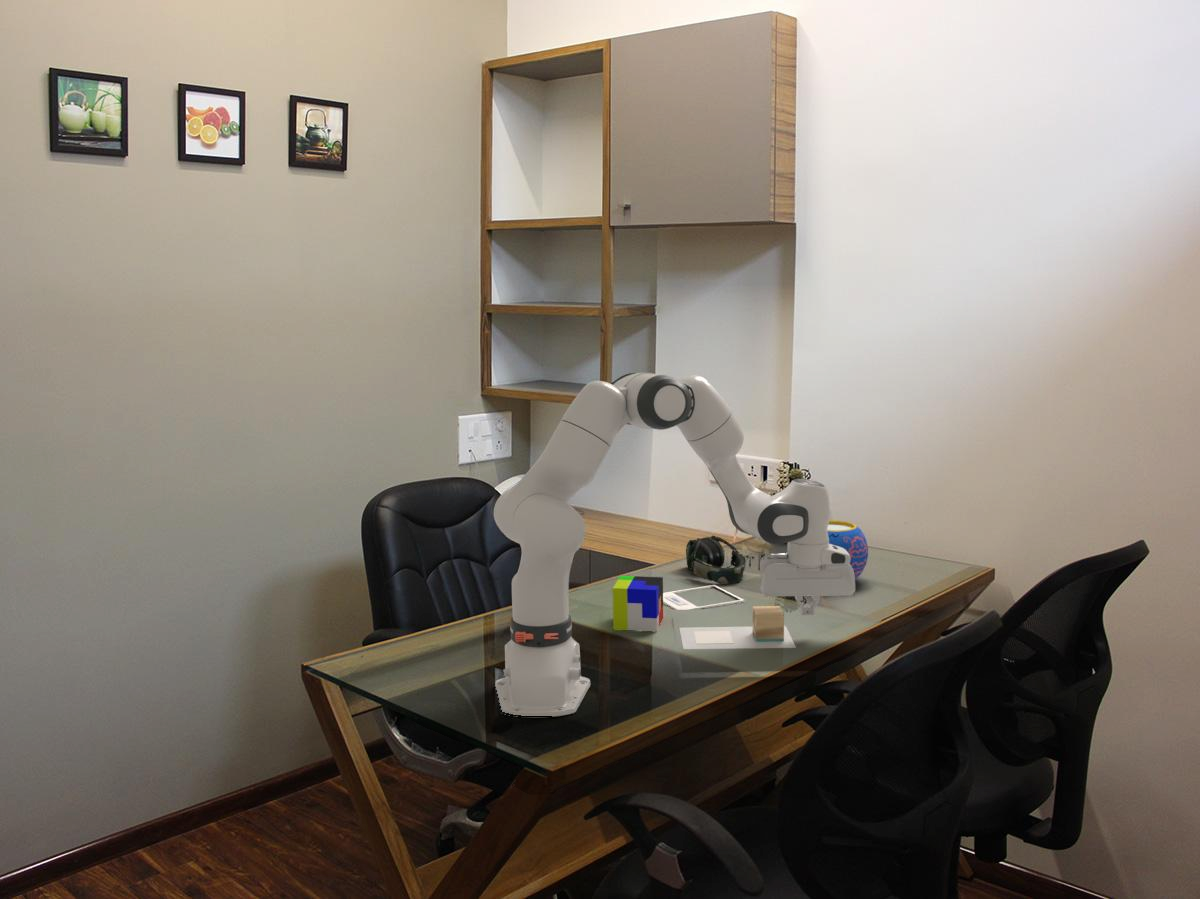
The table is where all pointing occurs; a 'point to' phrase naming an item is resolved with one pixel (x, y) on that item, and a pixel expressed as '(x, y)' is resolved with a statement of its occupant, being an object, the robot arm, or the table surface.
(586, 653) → the table surface
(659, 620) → the puzzle toy
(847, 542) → the ceramic pot
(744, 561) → the headphones
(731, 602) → the photo frame
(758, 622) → the wood cube
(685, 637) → the grey board
